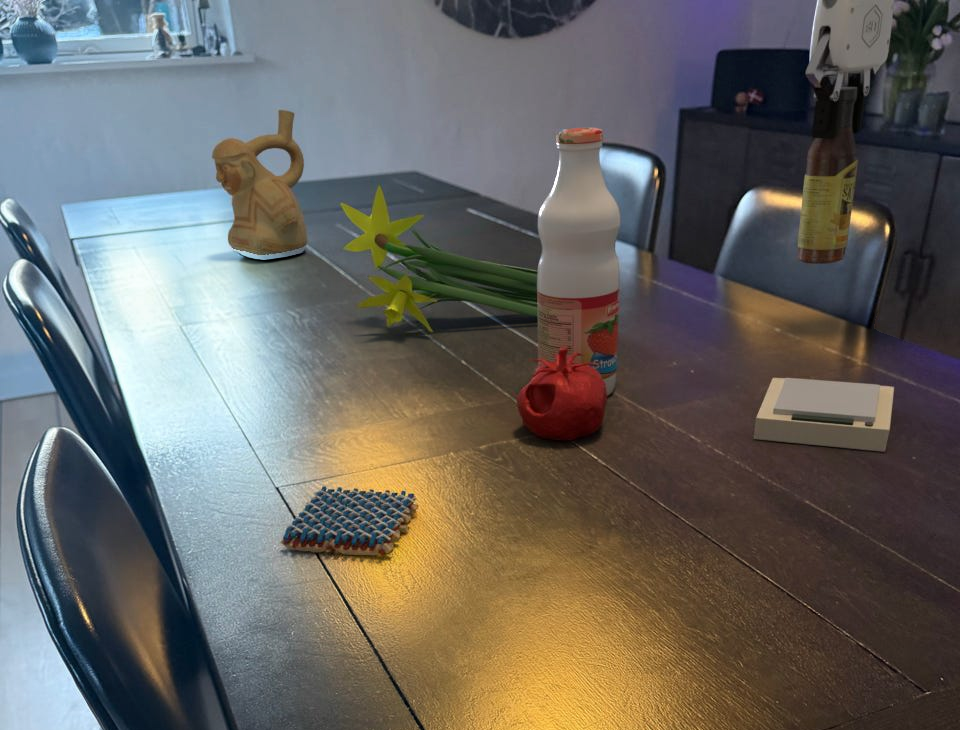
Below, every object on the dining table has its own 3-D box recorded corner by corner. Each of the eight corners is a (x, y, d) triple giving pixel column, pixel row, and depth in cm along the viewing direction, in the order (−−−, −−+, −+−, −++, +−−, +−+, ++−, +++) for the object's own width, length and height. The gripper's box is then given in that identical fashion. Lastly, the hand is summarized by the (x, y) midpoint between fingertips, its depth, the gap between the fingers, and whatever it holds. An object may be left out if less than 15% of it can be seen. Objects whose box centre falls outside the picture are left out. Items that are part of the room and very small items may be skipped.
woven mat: (424, 507, 88) (422, 488, 87) (390, 562, 80) (387, 541, 79) (321, 501, 90) (318, 482, 89) (278, 554, 82) (274, 533, 81)
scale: (770, 397, 108) (773, 372, 106) (890, 407, 103) (895, 381, 102) (753, 439, 98) (756, 412, 96) (885, 452, 94) (891, 423, 92)
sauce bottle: (844, 265, 120) (868, 89, 109) (794, 266, 122) (812, 92, 111) (845, 253, 125) (868, 83, 114) (797, 254, 127) (814, 87, 116)
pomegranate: (593, 409, 107) (595, 328, 102) (618, 441, 99) (621, 354, 94) (509, 418, 106) (507, 336, 101) (528, 451, 98) (526, 364, 93)
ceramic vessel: (211, 258, 187) (183, 117, 173) (292, 241, 198) (272, 106, 184) (255, 270, 177) (229, 120, 162) (339, 251, 187) (321, 109, 173)
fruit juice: (545, 376, 118) (542, 126, 102) (619, 378, 116) (628, 123, 100) (532, 402, 110) (527, 136, 94) (611, 405, 108) (620, 133, 92)
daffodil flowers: (569, 345, 131) (321, 291, 125) (546, 371, 145) (323, 323, 140) (590, 227, 130) (342, 167, 125) (565, 264, 145) (342, 212, 140)
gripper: (846, -48, 99) (822, 145, 109) (930, -52, 107) (901, 128, 117) (786, -41, 104) (769, 142, 114) (871, -45, 112) (848, 126, 122)
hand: (836, 133), depth 115 cm, fingers closed on sauce bottle, 4 cm apart
